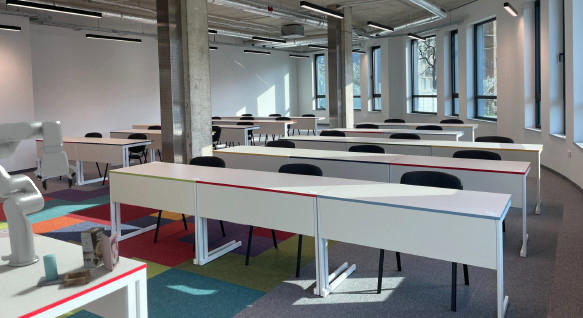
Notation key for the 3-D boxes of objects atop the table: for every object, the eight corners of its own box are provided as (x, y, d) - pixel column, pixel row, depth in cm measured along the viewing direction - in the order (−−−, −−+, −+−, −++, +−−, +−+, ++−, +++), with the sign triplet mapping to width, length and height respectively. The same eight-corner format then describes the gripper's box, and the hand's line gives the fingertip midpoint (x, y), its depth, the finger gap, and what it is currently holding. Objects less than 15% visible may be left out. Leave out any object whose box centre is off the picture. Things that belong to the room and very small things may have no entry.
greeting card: (114, 271, 207) (111, 237, 205) (96, 272, 206) (93, 238, 204) (121, 261, 218) (118, 230, 216) (104, 263, 217) (101, 231, 215)
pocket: (64, 286, 191) (63, 280, 191) (67, 278, 200) (66, 273, 199) (88, 283, 194) (88, 277, 194) (90, 275, 203) (89, 269, 202)
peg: (45, 282, 195) (42, 258, 194) (46, 278, 200) (43, 255, 198) (58, 279, 197) (54, 256, 196) (58, 276, 201) (55, 253, 200)
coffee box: (96, 267, 212) (92, 232, 209) (83, 267, 213) (79, 232, 211) (108, 260, 220) (104, 226, 218) (95, 260, 222) (92, 226, 219)
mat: (37, 287, 192) (37, 285, 192) (41, 278, 202) (41, 276, 201) (64, 283, 195) (64, 281, 195) (67, 274, 205) (67, 273, 205)
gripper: (29, 152, 198) (34, 192, 201) (75, 148, 204) (79, 188, 206) (33, 150, 205) (37, 189, 208) (76, 147, 211) (80, 185, 213)
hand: (58, 188), depth 207 cm, fingers open, 9 cm apart
